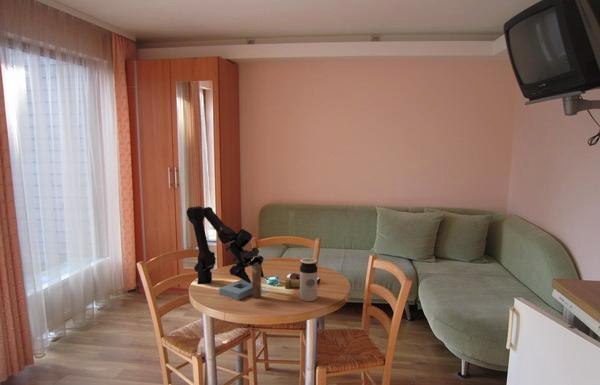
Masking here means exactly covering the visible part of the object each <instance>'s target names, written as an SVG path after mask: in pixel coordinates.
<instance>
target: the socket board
mask: <svg viewBox="0 0 600 385" xmlns="http://www.w3.org/2000/svg"><path fill="white" fill-rule="evenodd" d="M250 281H251V283H248V282H246V281H245V280H243V279H241V278H240V279H239V280H236V281H234V282H232V283H228V284H227V285H223V286H222V287H219V288H218V290H219V295H220V296H224V297H226V298H230V299H233V300H237V301H240V300H242V299H244V298H246V297H248V296H251V295H252V280H250Z"/></svg>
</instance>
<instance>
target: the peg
mask: <svg viewBox="0 0 600 385" xmlns="http://www.w3.org/2000/svg"><path fill="white" fill-rule="evenodd" d="M261 266H262V265H260V264H253V265H252V266H251V267H252V269H251V272H252V273H251V274H252V275H251V276H252V277H251V281H252V294H251V295H252V296H251V298H252V299H260V298H262V277H261Z"/></svg>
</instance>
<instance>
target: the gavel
mask: <svg viewBox="0 0 600 385" xmlns="http://www.w3.org/2000/svg"><path fill="white" fill-rule="evenodd" d="M296 276H297V274H296V273H295V272H294V273H291V279H289V278H285V279H284V288H285V289H290V288H291V289H292V288H293V289H294V288H295V289H297V288H298V289H300V278H299V279H298V276H297V277H296Z"/></svg>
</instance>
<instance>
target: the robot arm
mask: <svg viewBox="0 0 600 385" xmlns="http://www.w3.org/2000/svg"><path fill="white" fill-rule="evenodd" d="M186 216H187V218H188V221H189V222H190V223H191V224H192V226H193V230H194V234H195V235H194V236H195V239H196V244H197V247H198V255H197V263H196V264H195V265H194V266H193V267H194V268H193V269H194V271H195V272H197V284H199V285H200V284H203V285H204V284H211V282H212V281H213V272H212V270H213V269H214V268H215V265H216V260H217V258H216V256H215V255H216V254H215V252H214V251H211V250H210V248H209V247H210V246H209V242H208V239H207V238H208V237H207V234H206V231H205V225H204V220H205V219H206V221H207V222H208V223H209V224H210V225H211V226H212V228H213V229H215V230H214V231H216V232H217V237H218V239H219V241H220V242H221V243H222V244H224V245H226V244H227V245H226V248H225V251H226V252H229V251H230V252H231V255H232V256H233V261H234V262H236V263H234V264H233V265H232V266H231V268H229V274H230V275H231V276H234V277H236V278H239V279H240V280H241V279H243V280H245V281H246V282H248V283H251V281H252V280H251V279H250V277H249V275H248V273H247V272H246V268H248V267H252V265H253V264H260V265H261V279H262V278H264V277H265V276H264V272H263V267H262V265H263V264H262V263H264V260H265V259H264V256H262V255H259V253H260V250H259V248H258V247H257V246H254V247H252V248H251V250H247V249H246V250H245V249H244V248H245V247H247V245H248V243H250V241H251V240H252V239H253V235H252V233H251V232H249V231H247V230H245V229H244V228H242V229H239V231H238V233H237V232H236V231H235V230H234V229H232V228H231V227H230V226H227V225H226V224H225V223H224V222H223V221H222V220H221V219H220V218H219V216H218V215H217V214H216V212H214V211H213V207H211V206H207V207H202V206H201V205H197V206H190V207H188V208H187V210H186Z"/></svg>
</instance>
